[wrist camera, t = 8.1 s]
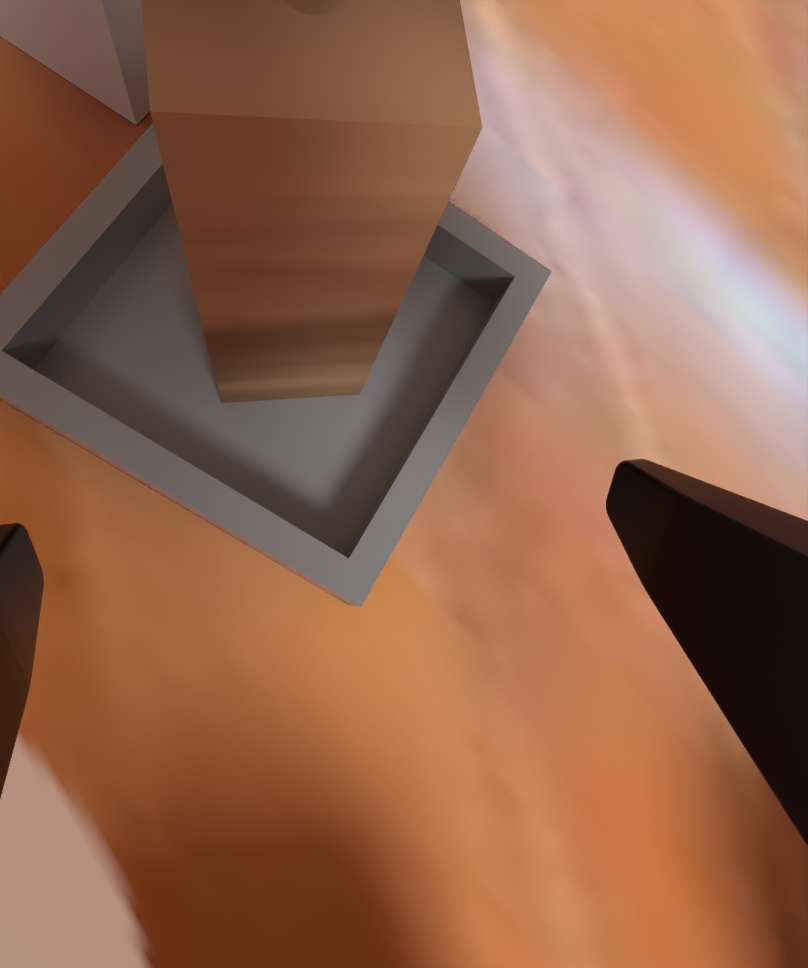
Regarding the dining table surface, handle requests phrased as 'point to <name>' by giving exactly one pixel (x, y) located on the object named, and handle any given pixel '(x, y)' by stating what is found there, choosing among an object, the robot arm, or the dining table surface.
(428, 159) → the walnut block
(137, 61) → the grey soap dispenser
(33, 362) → the tray
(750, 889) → the dining table surface
